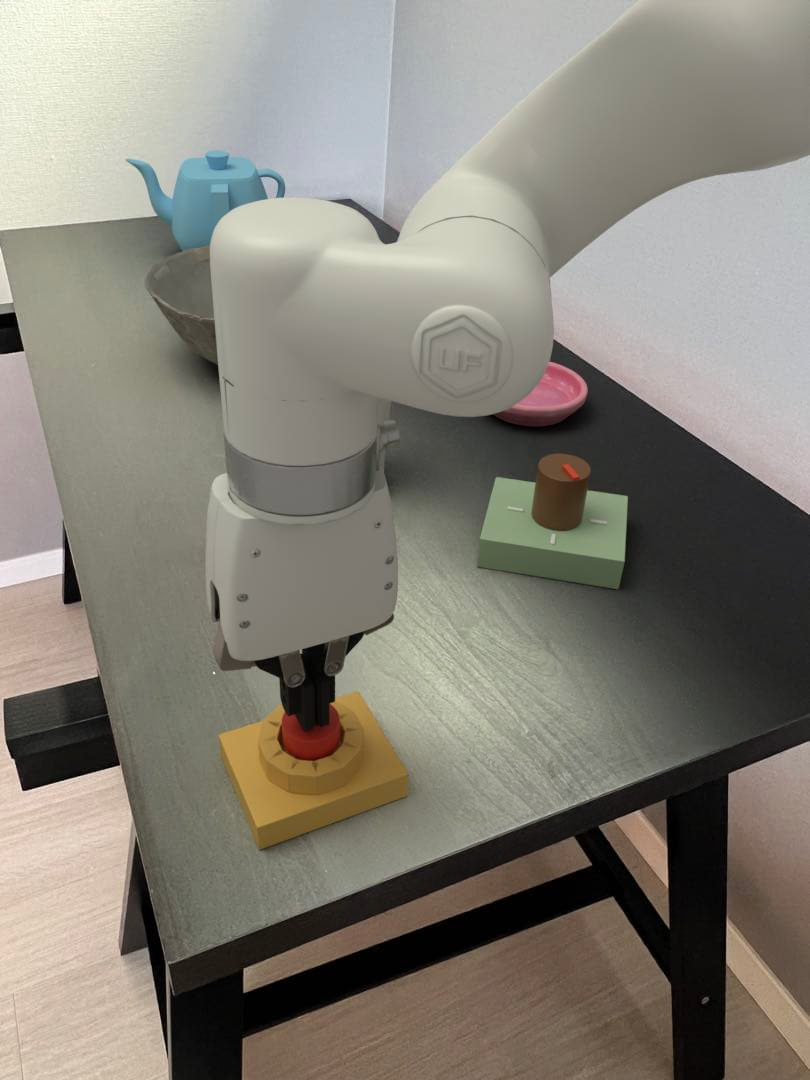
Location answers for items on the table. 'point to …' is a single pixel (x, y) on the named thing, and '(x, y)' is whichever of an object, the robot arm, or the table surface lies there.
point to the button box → (311, 774)
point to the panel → (554, 538)
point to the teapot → (206, 194)
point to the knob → (560, 491)
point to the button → (311, 737)
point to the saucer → (549, 399)
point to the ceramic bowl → (187, 298)
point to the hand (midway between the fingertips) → (308, 712)
